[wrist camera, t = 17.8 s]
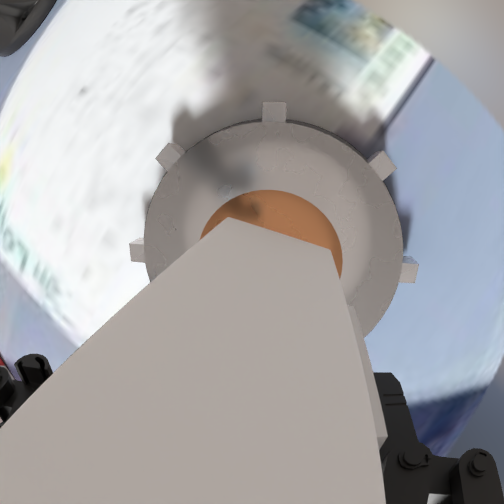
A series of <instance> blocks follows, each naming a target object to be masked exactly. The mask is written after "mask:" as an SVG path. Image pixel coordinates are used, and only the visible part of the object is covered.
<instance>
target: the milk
mask: <svg viewBox="0 0 504 504" xmlns="http://www.w3.org/2000/svg"><path fill="white" fill-rule="evenodd" d="M0 504H386V499H385V490H384V482H383V474H382V467H381V460H380V454H379V447H378V441H377V435H376V429H375V424H374V418H373V413H372V408H371V403H370V398H369V393H368V388H367V384H366V379H365V375H364V370H363V366H362V362H361V357H360V353H359V349H358V345H357V341H356V337H355V333H354V329H353V325H352V322H351V318H350V314H349V310H348V307H347V303H346V300H345V296H344V293H343V289H342V286H341V282H340V279H339V276H338V272H337V269H336V266H335V262H334V259H333V256H332V253H331V250H329V249H327V248H324V247H321V246H318V245H315V244H312V243H309V242H306V241H303V240H300V239H297V238H294V237H290V236H287V235H284V234H281V233H278V232H275V231H272V230H269V229H266V228H262V227H259V226H256V225H253V224H250V223H247V222H243V221H240V220H237V219H234V218H231V217H227V218H226V219H225V220H223V221H222V222H221V223H220V224H219V225H217V226H216V227H215V228H214V229H212V230H211V231H210V232H209V233H208V234H206V235H205V236H204V237H203V238H202V239H200V240H199V241H198V242H197V243H196V244H195V245H193V246H192V247H191V248H190V249H189V250H187V251H186V252H185V253H184V254H183V255H182V256H180V257H179V258H178V259H177V260H176V261H175V262H173V263H172V264H171V265H170V266H169V267H168V268H166V269H165V270H164V271H163V272H162V273H161V274H160V275H158V276H157V277H156V278H155V279H154V280H153V281H152V282H150V283H149V284H148V285H147V286H146V287H145V288H144V289H143V290H141V291H140V292H139V293H138V294H137V295H136V296H135V297H134V298H132V299H131V300H130V301H129V302H128V303H127V304H126V305H125V306H124V307H122V308H121V309H120V310H119V311H118V312H117V313H116V314H115V315H114V316H113V317H112V318H110V319H109V320H108V321H107V322H106V323H105V324H104V325H103V326H102V327H101V328H100V329H99V330H98V331H96V332H95V333H94V334H93V335H92V336H91V337H90V338H89V339H88V340H87V341H86V342H85V343H84V344H83V345H82V346H81V347H80V348H79V349H77V350H76V351H75V352H74V353H73V354H72V355H71V356H70V357H69V358H68V359H67V360H66V361H65V362H64V363H63V364H62V365H61V366H60V367H59V368H58V369H57V370H56V371H55V372H54V373H53V374H52V375H51V376H50V377H49V378H48V379H47V380H46V381H45V382H44V383H43V384H42V385H41V386H40V387H39V388H38V389H37V390H36V391H35V392H34V393H33V394H32V395H31V396H30V397H29V398H28V399H27V400H26V401H25V402H24V403H23V405H22V406H21V407H20V408H19V409H18V410H17V411H16V412H15V413H14V414H13V415H12V416H11V417H10V418H9V419H8V420H7V422H6V423H5V424H4V425H3V426H2V427H1V428H0Z"/></svg>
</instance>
